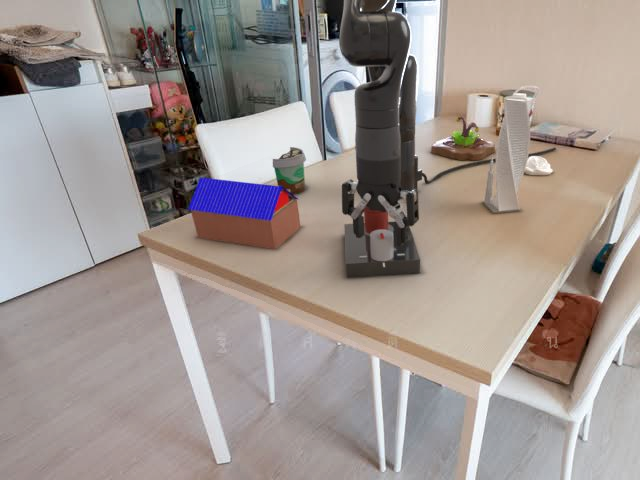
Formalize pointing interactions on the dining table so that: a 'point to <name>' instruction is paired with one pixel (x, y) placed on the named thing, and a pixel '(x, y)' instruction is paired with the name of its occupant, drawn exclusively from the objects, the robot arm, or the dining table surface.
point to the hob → (364, 265)
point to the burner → (388, 229)
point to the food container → (291, 170)
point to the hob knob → (382, 245)
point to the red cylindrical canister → (375, 220)
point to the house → (244, 212)
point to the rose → (537, 166)
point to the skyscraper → (510, 153)
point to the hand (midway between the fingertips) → (380, 240)
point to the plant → (463, 145)
